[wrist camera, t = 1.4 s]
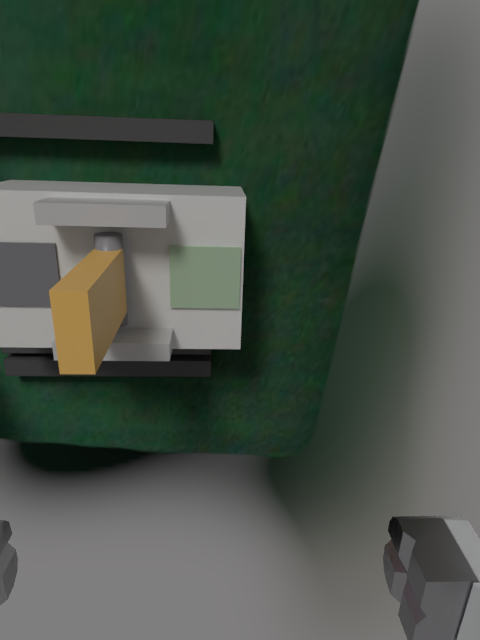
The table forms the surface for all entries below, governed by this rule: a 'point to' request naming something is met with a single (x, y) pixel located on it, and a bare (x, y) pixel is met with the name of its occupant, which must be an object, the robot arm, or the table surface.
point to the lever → (90, 306)
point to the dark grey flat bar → (110, 364)
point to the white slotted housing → (127, 261)
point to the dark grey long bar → (106, 128)
